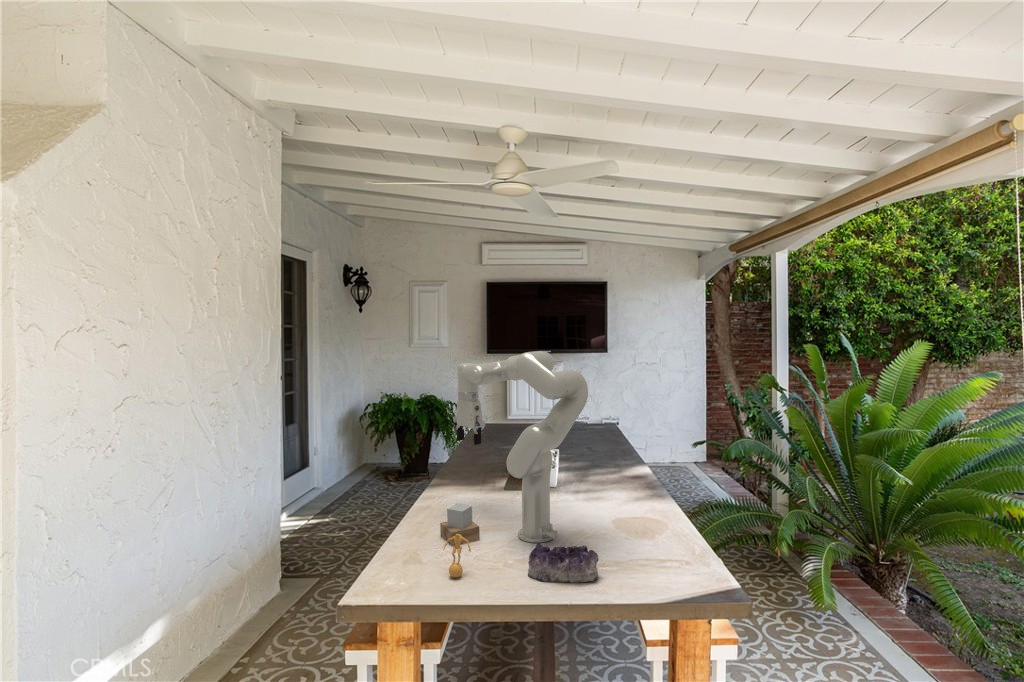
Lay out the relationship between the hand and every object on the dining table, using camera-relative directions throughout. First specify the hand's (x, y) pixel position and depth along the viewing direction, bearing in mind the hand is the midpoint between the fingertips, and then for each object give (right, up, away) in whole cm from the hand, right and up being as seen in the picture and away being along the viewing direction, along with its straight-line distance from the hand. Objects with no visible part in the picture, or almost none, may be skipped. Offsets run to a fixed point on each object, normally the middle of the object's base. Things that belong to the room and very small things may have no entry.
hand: (469, 442), depth 209 cm
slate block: (-2, -25, -18) cm, 31 cm away
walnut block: (-2, -30, -18) cm, 35 cm away
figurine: (0, -31, -45) cm, 55 cm away
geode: (+31, -31, -46) cm, 64 cm away
